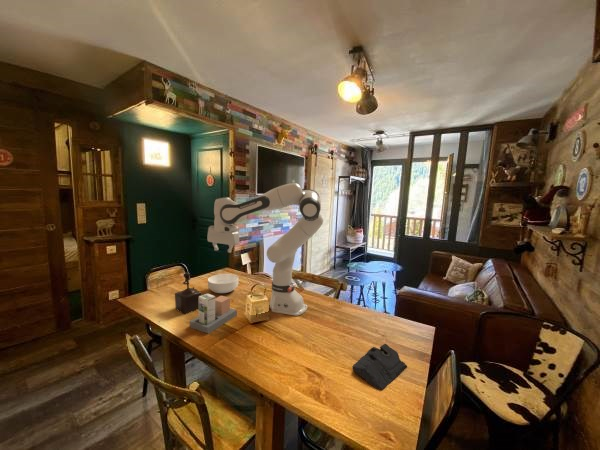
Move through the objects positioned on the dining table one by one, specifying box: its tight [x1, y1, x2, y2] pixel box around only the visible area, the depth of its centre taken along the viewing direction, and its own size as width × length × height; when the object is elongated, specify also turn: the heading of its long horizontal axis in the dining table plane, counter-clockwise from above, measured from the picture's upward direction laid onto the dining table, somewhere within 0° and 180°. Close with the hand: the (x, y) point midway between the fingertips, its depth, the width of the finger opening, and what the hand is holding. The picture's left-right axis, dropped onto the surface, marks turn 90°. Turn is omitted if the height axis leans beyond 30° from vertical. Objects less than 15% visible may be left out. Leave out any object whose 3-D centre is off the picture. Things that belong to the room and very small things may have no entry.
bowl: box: [207, 273, 239, 294], centre depth 163 cm, size 20×20×8 cm
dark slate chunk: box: [352, 343, 408, 391], centre depth 95 cm, size 15×22×5 cm
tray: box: [189, 295, 238, 334], centre depth 124 cm, size 20×12×10 cm, turn 154°
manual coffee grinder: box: [174, 272, 202, 315], centre depth 138 cm, size 16×11×18 cm
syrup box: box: [198, 293, 216, 326], centre depth 120 cm, size 6×6×14 cm
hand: (222, 251), depth 136 cm, fingers open, 8 cm apart
